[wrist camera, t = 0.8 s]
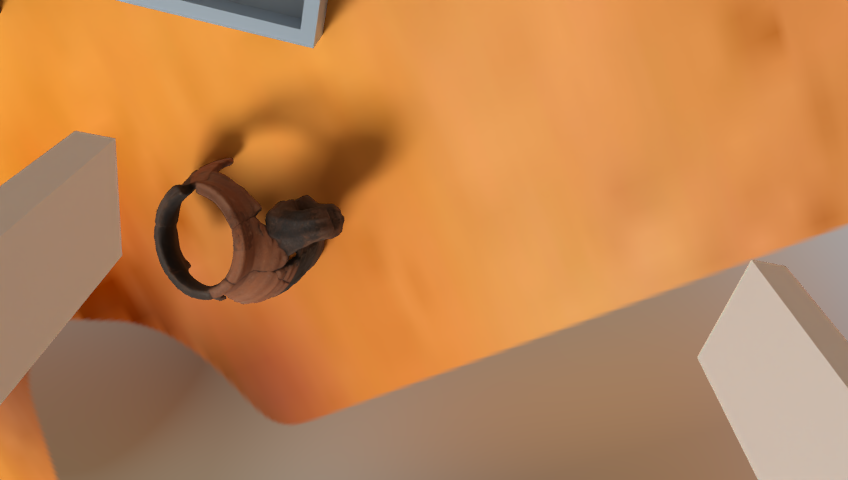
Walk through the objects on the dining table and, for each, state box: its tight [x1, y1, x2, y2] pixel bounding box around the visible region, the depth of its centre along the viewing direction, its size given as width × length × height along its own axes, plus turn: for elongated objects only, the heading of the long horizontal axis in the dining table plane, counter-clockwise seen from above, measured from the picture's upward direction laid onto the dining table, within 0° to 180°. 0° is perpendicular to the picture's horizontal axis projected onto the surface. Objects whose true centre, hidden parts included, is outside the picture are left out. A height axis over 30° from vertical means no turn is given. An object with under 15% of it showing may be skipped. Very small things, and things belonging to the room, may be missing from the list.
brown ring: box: [154, 158, 344, 304], centre depth 41 cm, size 12×10×8 cm
